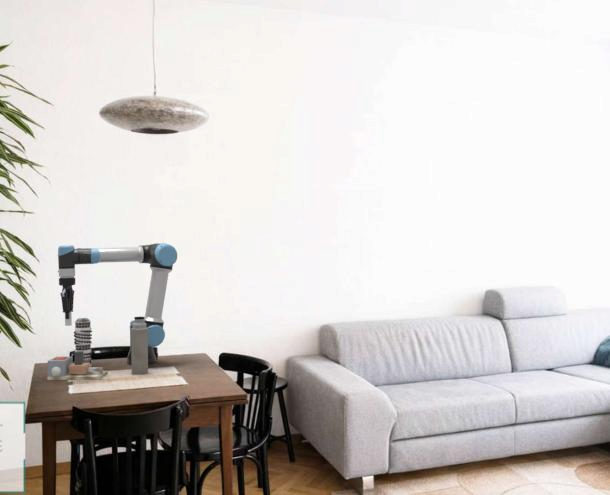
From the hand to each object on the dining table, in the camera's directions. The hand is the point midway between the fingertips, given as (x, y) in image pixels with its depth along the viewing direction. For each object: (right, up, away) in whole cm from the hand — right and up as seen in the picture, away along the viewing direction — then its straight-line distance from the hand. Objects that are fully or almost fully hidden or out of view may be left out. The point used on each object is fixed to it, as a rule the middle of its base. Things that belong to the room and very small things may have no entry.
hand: (68, 325), depth 317 cm
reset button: (-3, -18, -3) cm, 19 cm away
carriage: (+6, -22, -3) cm, 24 cm away
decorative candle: (-1, -24, +24) cm, 34 cm away
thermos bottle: (+33, -25, +6) cm, 42 cm away
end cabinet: (-3, -25, -3) cm, 25 cm away
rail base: (+6, -25, -3) cm, 25 cm away
